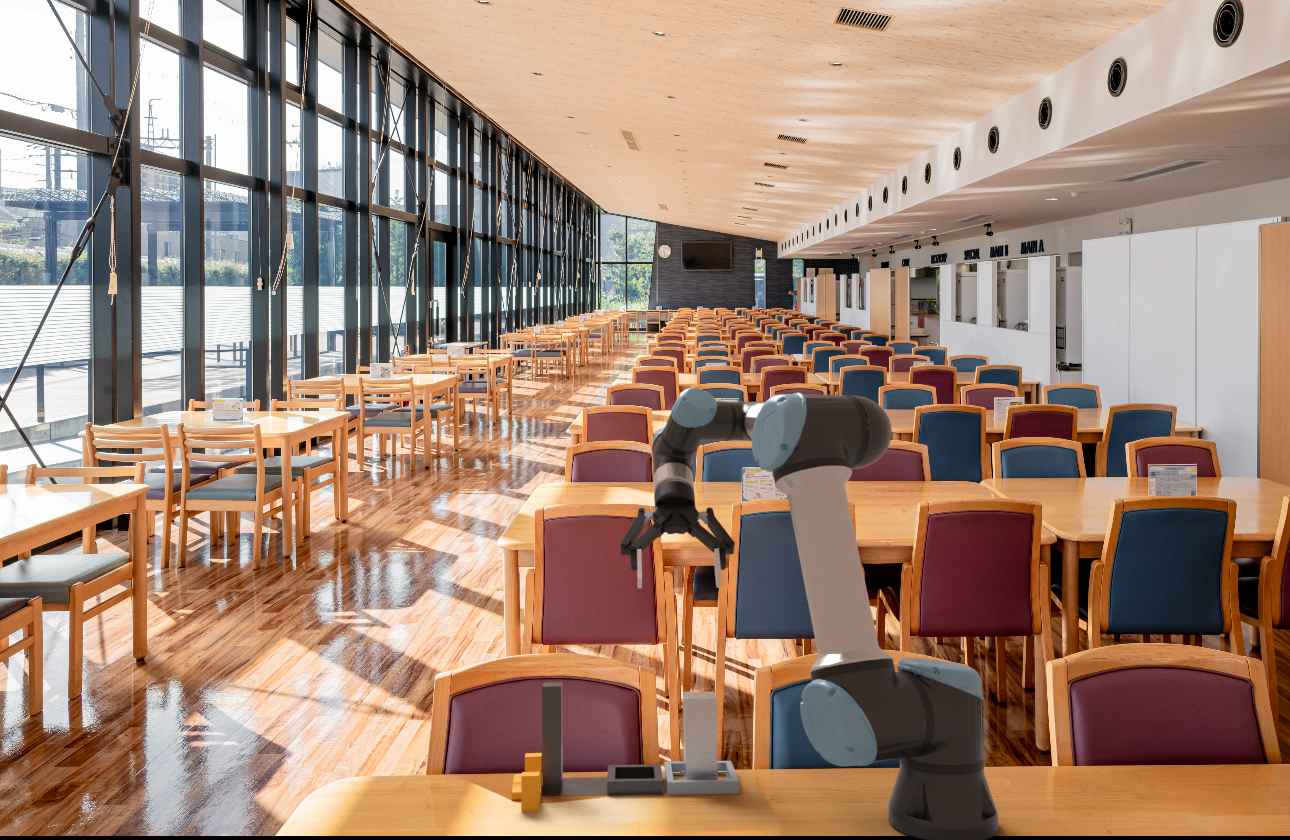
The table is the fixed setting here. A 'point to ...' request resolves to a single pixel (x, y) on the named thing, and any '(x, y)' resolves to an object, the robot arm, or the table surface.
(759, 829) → the table surface
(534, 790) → the pipe clamp
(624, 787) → the dark grey post stand
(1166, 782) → the table surface
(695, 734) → the light grey tall block
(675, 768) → the parts tray
